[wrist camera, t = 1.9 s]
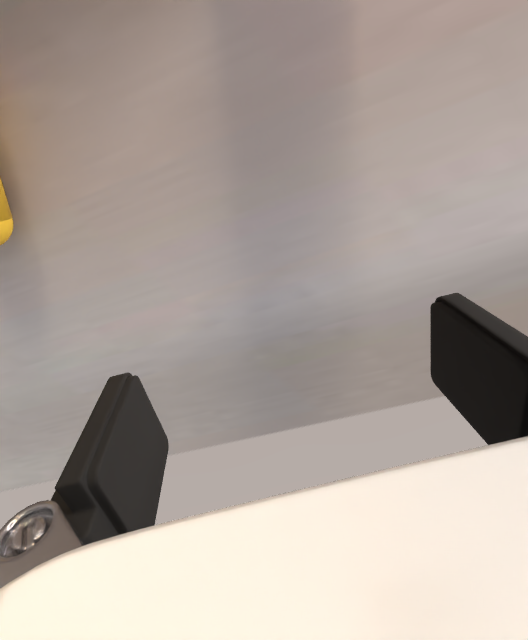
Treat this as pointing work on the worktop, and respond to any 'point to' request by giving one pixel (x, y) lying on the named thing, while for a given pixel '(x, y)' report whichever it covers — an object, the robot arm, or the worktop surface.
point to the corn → (4, 217)
